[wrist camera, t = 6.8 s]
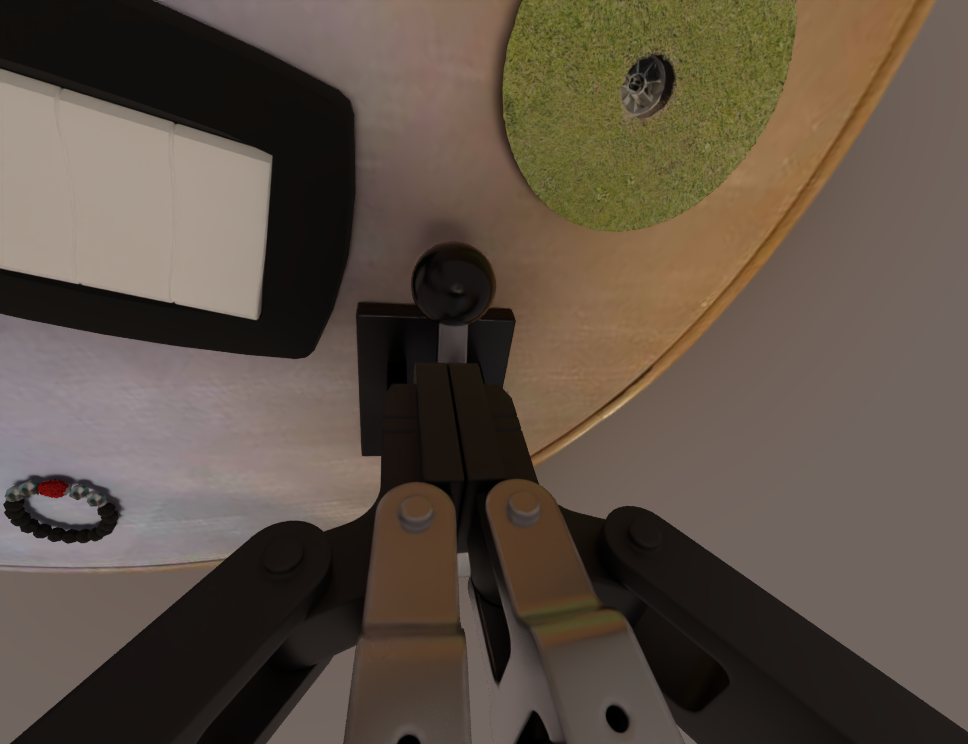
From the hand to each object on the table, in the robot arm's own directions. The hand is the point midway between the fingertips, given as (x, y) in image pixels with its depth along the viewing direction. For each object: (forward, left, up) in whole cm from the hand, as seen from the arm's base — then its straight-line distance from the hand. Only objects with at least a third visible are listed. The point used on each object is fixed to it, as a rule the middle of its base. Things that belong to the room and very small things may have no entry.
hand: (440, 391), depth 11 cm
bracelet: (-21, -20, -13) cm, 31 cm away
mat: (+8, +6, -13) cm, 16 cm away
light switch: (-13, 0, -13) cm, 18 cm away
